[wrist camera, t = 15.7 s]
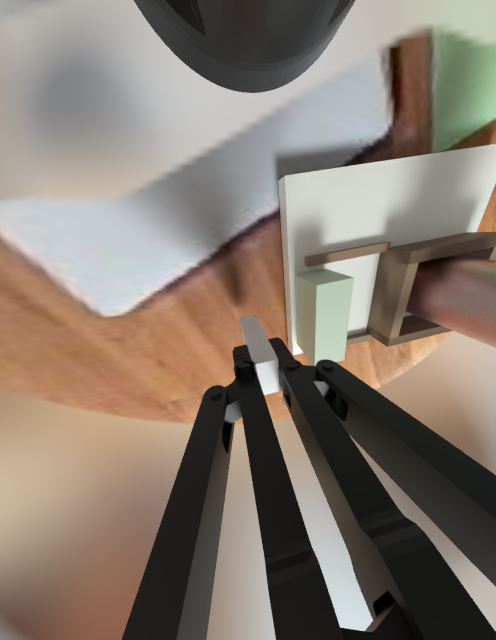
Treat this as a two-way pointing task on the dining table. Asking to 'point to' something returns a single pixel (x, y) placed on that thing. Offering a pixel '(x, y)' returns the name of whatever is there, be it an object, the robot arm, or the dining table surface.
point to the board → (376, 218)
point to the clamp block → (323, 313)
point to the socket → (399, 277)
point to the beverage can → (457, 295)
